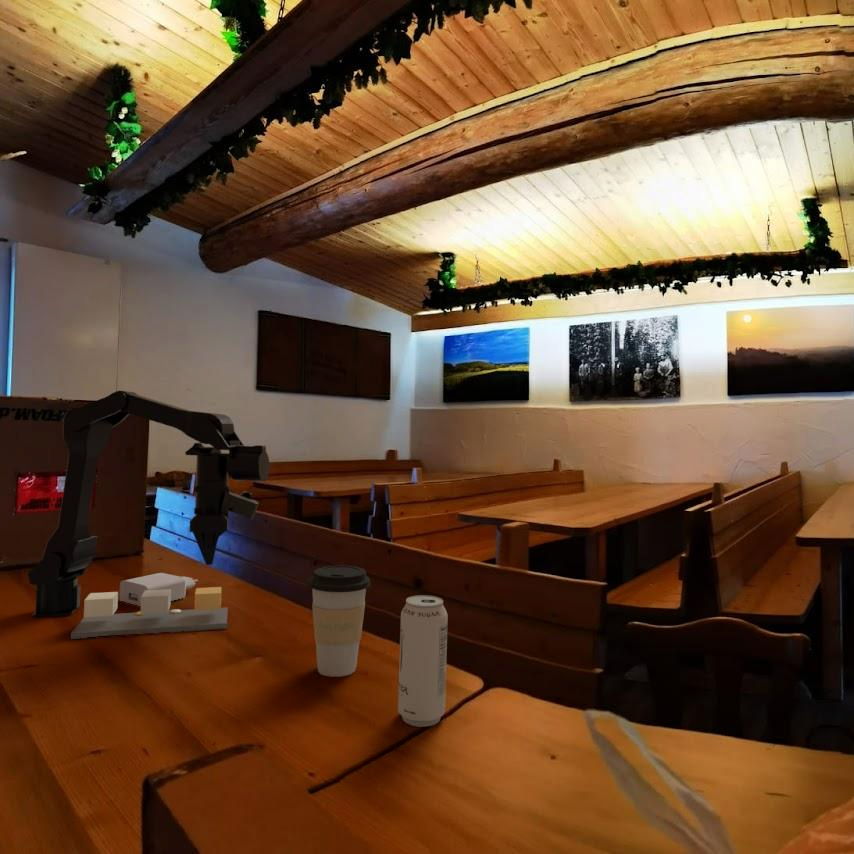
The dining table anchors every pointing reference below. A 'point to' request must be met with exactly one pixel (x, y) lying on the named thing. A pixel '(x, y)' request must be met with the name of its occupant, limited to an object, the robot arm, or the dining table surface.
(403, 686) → the energy drink can
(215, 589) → the key amber
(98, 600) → the key cream
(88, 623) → the keypad base
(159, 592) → the key grey
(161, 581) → the charger
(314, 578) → the coffee cup
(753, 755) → the dining table surface
